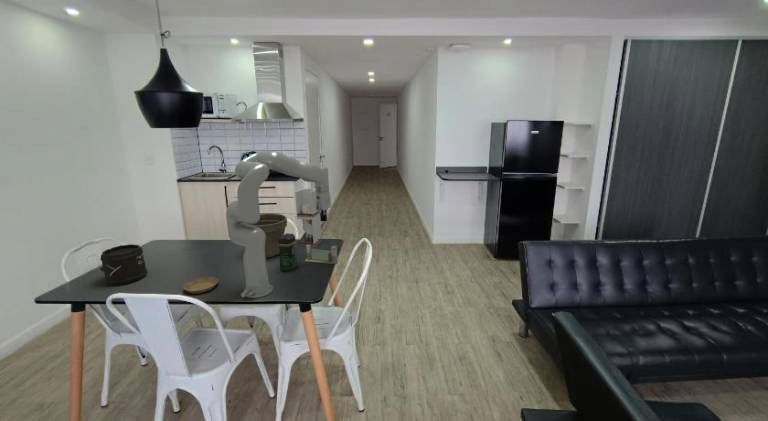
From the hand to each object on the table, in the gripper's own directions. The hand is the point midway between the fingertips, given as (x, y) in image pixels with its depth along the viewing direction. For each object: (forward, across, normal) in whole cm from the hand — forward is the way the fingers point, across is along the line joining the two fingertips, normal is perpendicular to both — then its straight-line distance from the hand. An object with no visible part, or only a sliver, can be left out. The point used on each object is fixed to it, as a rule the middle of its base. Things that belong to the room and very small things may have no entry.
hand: (323, 220), depth 194 cm
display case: (+22, +19, +21) cm, 36 cm away
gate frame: (+22, -6, 0) cm, 23 cm away
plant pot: (+22, -4, +36) cm, 43 cm away
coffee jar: (+22, -18, +13) cm, 32 cm away
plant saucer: (+23, -51, +40) cm, 69 cm away
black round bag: (+23, -54, +85) cm, 103 cm away
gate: (+21, -6, 0) cm, 22 cm away
